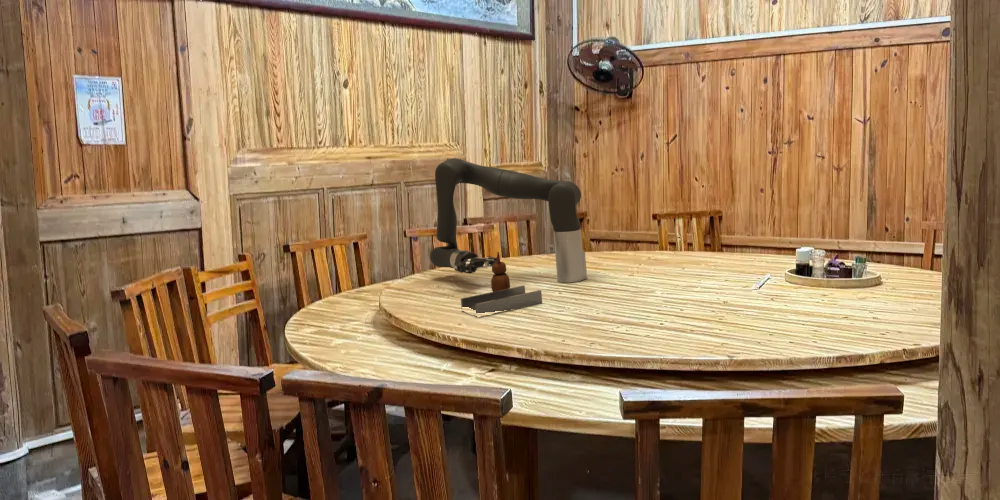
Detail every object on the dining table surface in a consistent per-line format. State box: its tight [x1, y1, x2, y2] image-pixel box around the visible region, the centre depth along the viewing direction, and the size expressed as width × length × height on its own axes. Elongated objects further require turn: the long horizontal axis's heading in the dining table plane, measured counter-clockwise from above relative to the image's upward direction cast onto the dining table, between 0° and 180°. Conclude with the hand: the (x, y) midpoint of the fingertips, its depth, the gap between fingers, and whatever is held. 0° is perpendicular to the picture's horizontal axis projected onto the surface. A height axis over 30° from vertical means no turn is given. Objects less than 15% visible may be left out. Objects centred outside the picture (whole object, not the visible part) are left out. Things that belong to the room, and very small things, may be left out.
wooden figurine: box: [490, 251, 511, 292], centre depth 268 cm, size 7×6×15 cm
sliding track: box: [460, 285, 543, 313], centre depth 255 cm, size 22×11×4 cm, turn 118°
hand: (485, 266), depth 276 cm, fingers open, 8 cm apart
